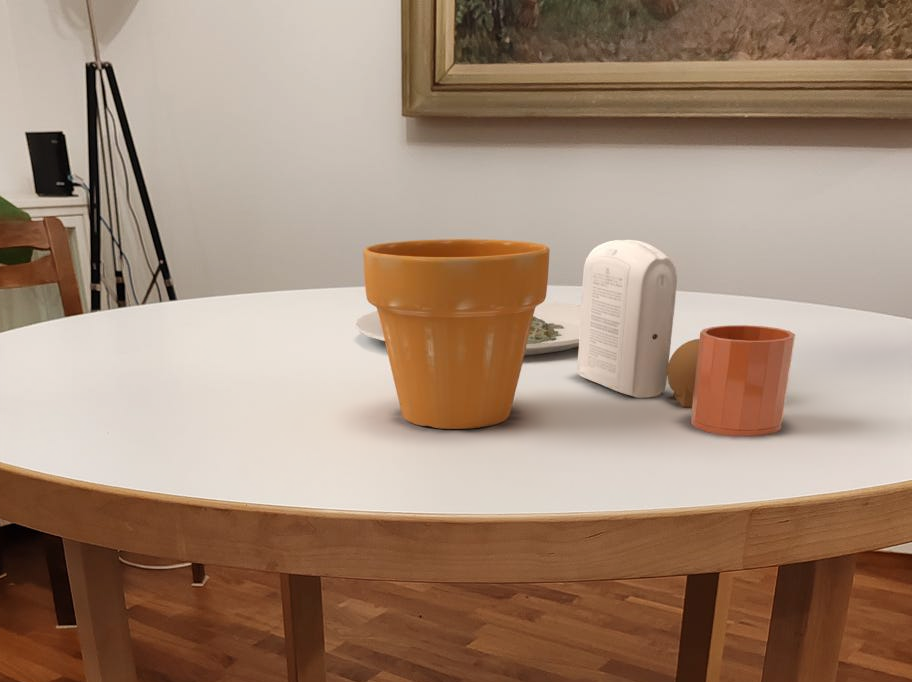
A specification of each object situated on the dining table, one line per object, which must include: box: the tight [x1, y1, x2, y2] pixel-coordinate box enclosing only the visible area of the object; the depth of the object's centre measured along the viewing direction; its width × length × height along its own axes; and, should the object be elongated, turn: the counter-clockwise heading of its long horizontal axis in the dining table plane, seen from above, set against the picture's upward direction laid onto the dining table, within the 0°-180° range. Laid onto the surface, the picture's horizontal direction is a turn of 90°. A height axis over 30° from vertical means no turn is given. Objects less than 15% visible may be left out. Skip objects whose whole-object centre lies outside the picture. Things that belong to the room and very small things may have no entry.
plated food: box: [355, 300, 581, 356], centre depth 111 cm, size 30×30×3 cm
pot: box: [690, 324, 796, 437], centre depth 76 cm, size 7×7×7 cm
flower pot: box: [362, 238, 551, 430], centre depth 78 cm, size 14×14×13 cm
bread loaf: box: [667, 338, 700, 408], centre depth 83 cm, size 8×5×5 cm, turn 89°
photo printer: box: [577, 239, 678, 399], centre depth 87 cm, size 10×4×12 cm, turn 23°
